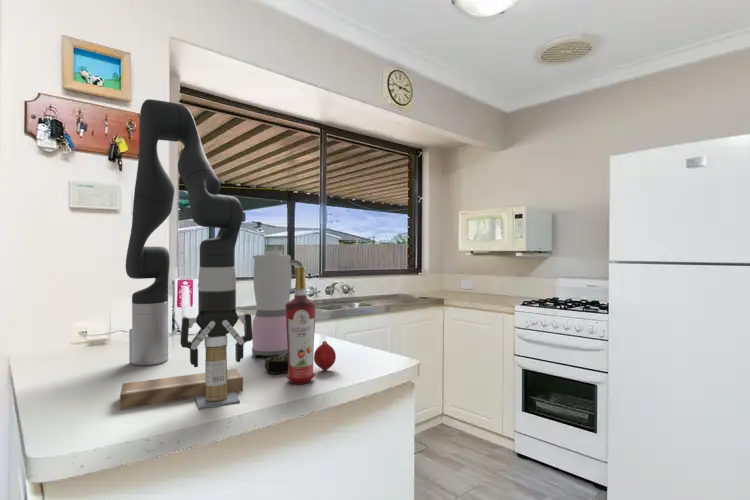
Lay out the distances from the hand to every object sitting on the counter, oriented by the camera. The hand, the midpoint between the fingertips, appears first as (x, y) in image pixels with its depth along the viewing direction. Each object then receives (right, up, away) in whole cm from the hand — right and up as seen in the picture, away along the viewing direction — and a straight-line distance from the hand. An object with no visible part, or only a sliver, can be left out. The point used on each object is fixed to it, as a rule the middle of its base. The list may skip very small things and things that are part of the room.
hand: (217, 363), depth 89 cm
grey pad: (0, -8, 0) cm, 8 cm away
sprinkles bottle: (0, -8, 0) cm, 8 cm away
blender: (+4, -8, +39) cm, 40 cm away
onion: (+20, -8, +22) cm, 31 cm away
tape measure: (+9, -8, +22) cm, 25 cm away
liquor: (+16, -8, +13) cm, 22 cm away
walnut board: (-9, -8, +4) cm, 13 cm away
